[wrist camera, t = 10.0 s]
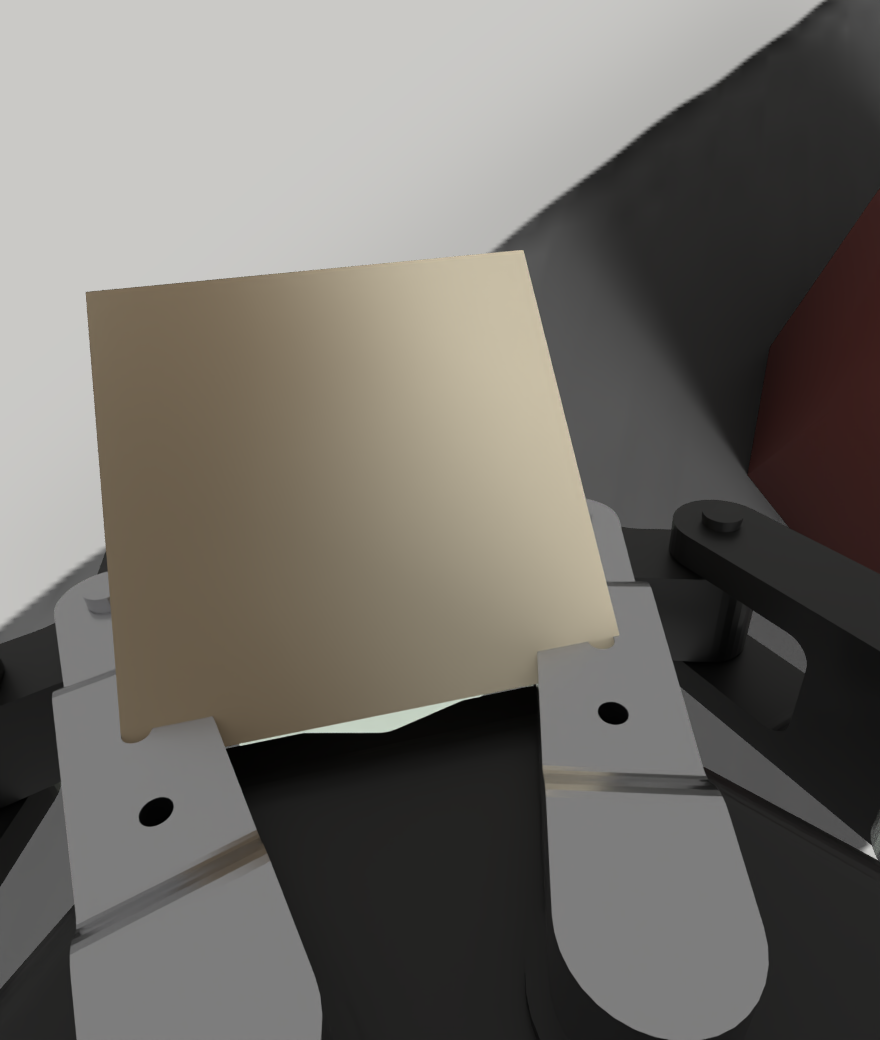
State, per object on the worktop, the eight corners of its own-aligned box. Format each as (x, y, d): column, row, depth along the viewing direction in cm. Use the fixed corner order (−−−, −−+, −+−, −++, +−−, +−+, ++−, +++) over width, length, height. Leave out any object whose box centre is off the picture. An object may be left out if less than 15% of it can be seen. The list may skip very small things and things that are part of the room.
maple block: (425, 513, 18) (522, 249, 7) (459, 686, 17) (626, 665, 6) (252, 540, 17) (85, 292, 7) (276, 722, 16) (123, 767, 6)
